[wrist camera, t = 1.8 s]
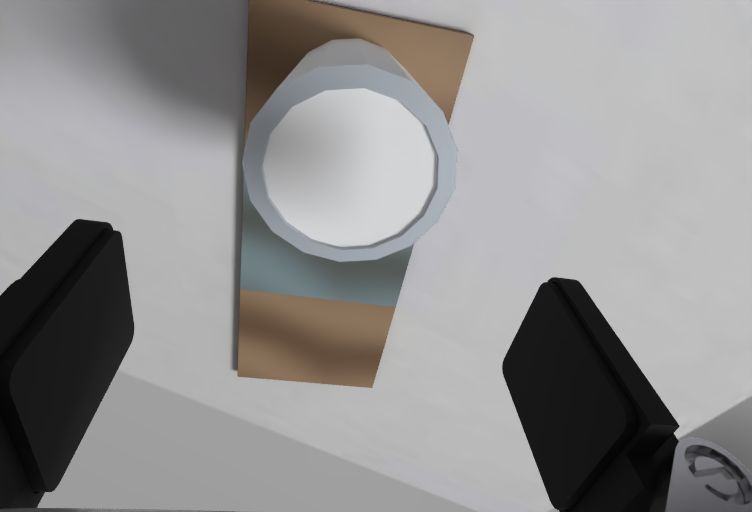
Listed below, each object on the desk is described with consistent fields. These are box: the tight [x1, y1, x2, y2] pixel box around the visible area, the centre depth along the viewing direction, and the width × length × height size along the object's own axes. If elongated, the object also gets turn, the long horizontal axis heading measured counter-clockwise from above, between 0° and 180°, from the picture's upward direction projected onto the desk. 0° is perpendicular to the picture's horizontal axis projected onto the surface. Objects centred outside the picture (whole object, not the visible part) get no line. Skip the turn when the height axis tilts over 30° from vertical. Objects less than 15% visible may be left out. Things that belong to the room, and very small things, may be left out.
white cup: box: [242, 38, 458, 262], centre depth 17 cm, size 7×7×7 cm
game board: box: [238, 0, 474, 388], centre depth 25 cm, size 22×9×1 cm, turn 169°
